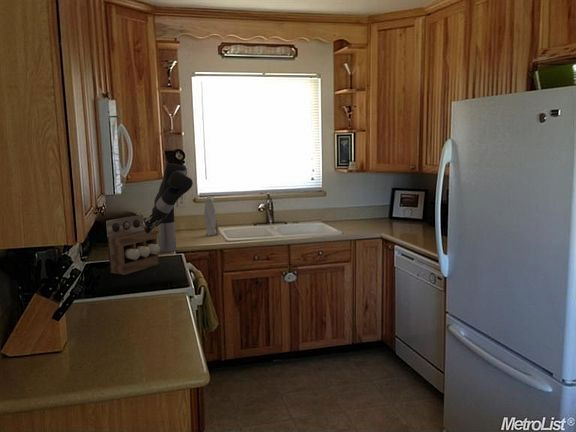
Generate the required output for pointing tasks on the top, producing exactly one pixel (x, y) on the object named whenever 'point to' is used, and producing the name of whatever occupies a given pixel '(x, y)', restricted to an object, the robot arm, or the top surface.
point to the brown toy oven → (129, 244)
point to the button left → (131, 253)
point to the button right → (153, 248)
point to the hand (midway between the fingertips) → (146, 231)
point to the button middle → (143, 251)
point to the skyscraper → (210, 217)
